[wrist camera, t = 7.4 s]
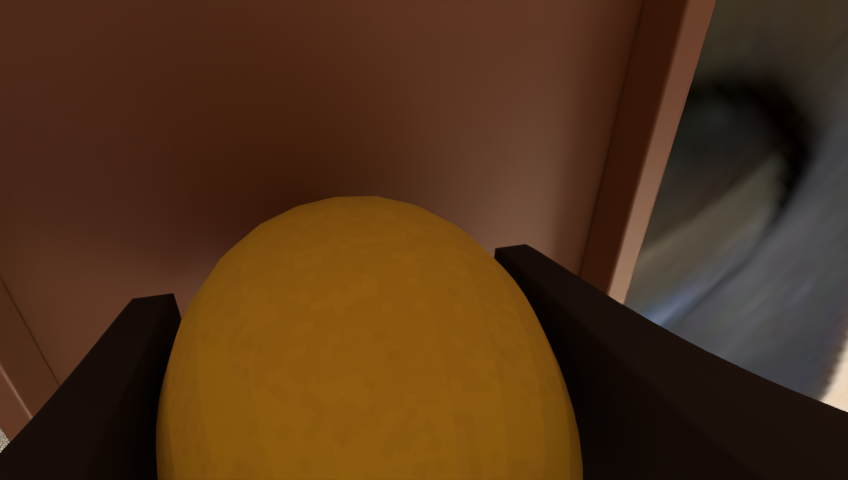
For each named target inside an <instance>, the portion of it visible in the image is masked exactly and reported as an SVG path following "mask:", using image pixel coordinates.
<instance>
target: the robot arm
mask: <svg viewBox="0 0 848 480" xmlns="http://www.w3.org/2000/svg"><path fill="white" fill-rule="evenodd" d="M494 259H495V260H496V261H497V262H498V263H499V264H500V265H501V266H502V267H503V268H504V269H505V270H506V271H507V272H508V273H509V275H510V276H511V277H512V278H513V279H514V281H515V282H516V283H517V285H518V286H519V288H520V289H521V290H522V292H523V293H524V295H525V296H526V298H527V300H528V302H529V303H530V305H531V307H532V309H533V310H534V312H535V314H536V316H537V318H538V321H539V323H540V325H541V327H542V329H543V331H544V333H545V335H546V337H547V340H548V342H549V344H550V346H551V348H552V350H553V353H554V355H555V357H556V359H557V361H558V364H559V367H560V370H561V372H562V375H563V378H564V380H565V383H566V386H567V390H568V393H569V396H570V400H571V403H572V406H573V410H574V415H575V419H576V424H577V428H578V433H579V438H580V447H581V456H582V465H583V480H848V412H846V411H843V410H840V409H838V408H835V407H833V406H830V405H828V404H825V403H823V402H820V401H818V400H815V399H813V398H810V397H808V396H805V395H803V394H800V393H798V392H796V391H793V390H791V389H788V388H786V387H783V386H781V385H779V384H776V383H774V382H772V381H769V380H767V379H765V378H763V377H760V376H758V375H756V374H754V373H751V372H749V371H747V370H745V369H743V368H741V367H739V366H737V365H735V364H732V363H730V362H728V361H726V360H724V359H722V358H720V357H718V356H716V355H714V354H711V353H709V352H707V351H705V350H703V349H701V348H700V347H698V346H696V345H694V344H692V343H690V342H688V341H686V340H684V339H682V338H680V337H679V336H677V335H675V334H673V333H671V332H670V331H668V330H666V329H664V328H662V327H661V326H659V325H657V324H655V323H653V322H652V321H650V320H648V319H646V318H645V317H643V316H641V315H640V314H638V313H636V312H634V311H633V310H631V309H629V308H628V307H626V306H624V305H623V304H621V303H620V302H618V301H616V300H615V299H613V298H611V297H610V296H608V295H607V294H605V293H603V292H602V291H600V290H599V289H597V288H595V287H594V286H592V285H591V284H589V283H588V282H586V281H584V280H583V279H581V278H580V277H578V276H577V275H575V274H574V273H572V272H570V271H569V270H567V269H566V268H564V267H563V266H561V265H560V264H558V263H556V262H555V261H553V260H552V259H550V258H549V257H547V256H545V255H544V254H542V253H541V252H539V251H537V250H536V249H534V248H532V247H530V246H529V245H527V244H522V245H514V246H507V247H500V248H495V254H494ZM181 320H182V318H181V315H180V312H179V309H178V306H177V303H176V299H175V296H174V293H170V294H162V295H155V296H148V297H141V298H134V299H132V300H131V301H130V302H129V303H128V304H127V306H126V307H125V308H124V309H123V310H122V312H121V313H120V314H119V315H118V316H117V317H116V319H115V320H114V321H113V322H112V324H111V325H110V326H109V327H108V329H107V330H106V331H105V332H104V334H103V335H102V336H101V337H100V338H99V340H98V341H97V342H96V343H95V345H94V346H93V347H92V348H91V350H90V351H89V352H88V353H87V354H86V356H85V357H84V358H83V359H82V361H81V362H80V363H79V364H78V365H77V367H76V368H75V369H74V370H73V371H72V373H71V374H70V375H69V376H68V377H67V378H66V380H65V381H64V382H63V383H62V384H61V385H60V387H59V388H58V389H57V390H56V391H55V393H54V394H53V395H52V396H51V397H50V398H49V400H48V401H47V402H46V403H45V404H44V405H43V407H42V408H41V409H40V410H39V411H38V412H37V413H36V415H35V416H34V417H33V418H32V419H31V420H30V421H29V422H28V423H27V425H26V426H25V427H24V428H23V429H22V430H21V431H20V432H19V433H18V434H17V435H16V436H15V438H14V439H13V440H12V441H11V442H10V443H9V444H8V445H7V446H6V447H5V448H4V449H3V450H2V452H1V453H0V480H158V477H157V460H156V421H157V413H158V404H159V397H160V393H161V388H162V384H163V379H164V375H165V372H166V368H167V365H168V362H169V358H170V355H171V351H172V348H173V344H174V341H175V338H176V335H177V332H178V329H179V326H180V323H181Z"/></svg>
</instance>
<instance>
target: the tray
mask: <svg viewBox="0 0 848 480" xmlns="http://www.w3.org/2000/svg"><path fill="white" fill-rule="evenodd" d="M715 3H716V0H0V428H1V429H2V431H3V432H4V434H5V435H6V437H7V438H8V440H9V441H10V442H11V441H12V440H13V439H14V438H15V436H16V435H17V434H18V433H19V432H20V431H21V430H22V429H23V428H24V427H25V426H26V425H27V423H28V422H29V421H30V420H31V419H32V418H33V417H34V416H35V415H36V413H37V412H38V411H39V410H40V409H41V408H42V407H43V405H44V404H45V403H46V402H47V401H48V400H49V398H50V397H51V396H52V395H53V394H54V393H55V391H56V390H57V389H58V388H59V387H60V385H61V384H62V383H63V382H64V381H65V380H66V378H67V377H68V376H69V375H70V374H71V373H72V371H73V370H74V369H75V368H76V367H77V365H78V364H79V363H80V362H81V361H82V359H83V358H84V357H85V356H86V354H87V353H88V352H89V351H90V350H91V348H92V347H93V346H94V345H95V343H96V342H97V341H98V340H99V338H100V337H101V336H102V335H103V334H104V332H105V331H106V330H107V329H108V327H109V326H110V325H111V324H112V322H113V321H114V320H115V319H116V317H117V316H118V315H119V314H120V313H121V312H122V310H123V309H124V308H125V307H126V306H127V304H128V303H129V302H130V301H131V300H132V299H134V298H141V297H148V296H155V295H162V294H170V293H174V296H175V299H176V303H177V306H178V309H179V312H180V315H181V318H183V316H184V314H185V312H186V310H187V308H188V306H189V304H190V302H191V301H192V299H193V298H194V296H195V295H196V293H197V292H198V290H199V289H200V288H201V286H202V285H203V283H204V282H205V280H206V279H207V277H208V276H209V274H210V273H211V272H212V270H213V269H214V267H215V266H216V264H217V263H218V261H219V260H220V259H221V257H222V256H224V255H225V254H226V253H227V252H228V251H229V250H230V249H231V248H232V247H233V246H235V245H236V244H237V243H238V242H239V241H241V240H242V239H243V238H244V237H245V236H247V235H248V234H249V233H250V232H251V231H252V230H254V229H255V228H256V227H257V226H258V225H260V224H262V223H264V222H266V221H268V220H270V219H272V218H274V217H276V216H278V215H280V214H282V213H284V212H286V211H288V210H290V209H292V208H294V207H296V206H299V205H304V204H308V203H312V202H316V201H320V200H324V199H328V198H333V197H353V196H379V197H383V198H388V199H392V200H397V201H401V202H406V203H410V204H414V205H416V206H419V207H422V208H424V209H426V210H428V211H429V212H431V213H433V214H435V215H437V216H439V217H441V218H443V219H445V220H447V221H449V222H451V223H453V224H455V225H456V226H458V227H459V228H461V229H462V230H464V231H465V232H466V233H467V234H469V235H470V236H471V237H472V238H473V239H474V240H475V241H476V242H477V243H478V244H479V245H481V246H482V247H483V248H484V249H485V250H486V251H487V252H488V253H489V254H490V255H491V256H492V257H493V258H494V254H495V248H500V247H507V246H514V245H522V244H527V245H529V246H530V247H532V248H534V249H536V250H537V251H539V252H541V253H542V254H544V255H545V256H547V257H549V258H550V259H552V260H553V261H555V262H556V263H558V264H560V265H561V266H563V267H564V268H566V269H567V270H569V271H570V272H572V273H574V274H575V275H577V276H578V277H580V278H581V279H583V280H584V281H586V282H588V283H589V284H591V285H592V286H594V287H595V288H597V289H599V290H600V291H602V292H603V293H605V294H607V295H608V296H610V297H611V298H613V299H615V300H616V301H618V302H620V303H621V304H623V305H624V302H625V299H626V296H627V292H628V289H629V286H630V283H631V279H632V276H633V273H634V269H635V266H636V263H637V260H638V256H639V253H640V250H641V246H642V243H643V240H644V236H645V233H646V230H647V227H648V223H649V220H650V217H651V213H652V210H653V207H654V204H655V200H656V197H657V194H658V190H659V187H660V184H661V180H662V177H663V174H664V171H665V167H666V164H667V161H668V157H669V154H670V151H671V148H672V144H673V141H674V138H675V134H676V131H677V128H678V124H679V121H680V118H681V115H682V111H683V108H684V105H685V101H686V98H687V95H688V92H689V88H690V85H691V82H692V78H693V75H694V72H695V68H696V65H697V62H698V59H699V55H700V52H701V49H702V45H703V42H704V39H705V36H706V32H707V29H708V26H709V22H710V19H711V16H712V12H713V9H714V6H715Z"/></svg>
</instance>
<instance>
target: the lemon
mask: <svg viewBox="0 0 848 480" xmlns="http://www.w3.org/2000/svg"><path fill="white" fill-rule="evenodd" d="M156 460H157V477H158V480H583V465H582V456H581V447H580V438H579V433H578V428H577V424H576V419H575V415H574V410H573V406H572V403H571V400H570V396H569V393H568V390H567V386H566V383H565V380H564V378H563V375H562V372H561V370H560V367H559V364H558V361H557V359H556V357H555V355H554V353H553V350H552V348H551V346H550V344H549V342H548V340H547V337H546V335H545V333H544V331H543V329H542V327H541V325H540V323H539V321H538V318H537V316H536V314H535V312H534V310H533V309H532V307H531V305H530V303H529V302H528V300H527V298H526V296H525V295H524V293H523V292H522V290H521V289H520V288H519V286H518V285H517V283H516V282H515V281H514V279H513V278H512V277H511V276H510V275H509V273H508V272H507V271H506V270H505V269H504V268H503V267H502V266H501V265H500V264H499V263H498V262H497V261H496V260H495V259H494V258H493V257H492V256H491V255H490V254H489V253H488V252H487V251H486V250H485V249H484V248H483V247H482V246H481V245H479V244H478V243H477V242H476V241H475V240H474V239H473V238H472V237H471V236H470V235H469V234H467V233H466V232H465V231H464V230H462V229H461V228H459V227H458V226H456V225H455V224H453V223H451V222H449V221H447V220H445V219H443V218H441V217H439V216H437V215H435V214H433V213H431V212H429V211H428V210H426V209H424V208H422V207H419V206H416V205H414V204H410V203H406V202H401V201H397V200H392V199H388V198H383V197H379V196H353V197H333V198H328V199H324V200H320V201H316V202H312V203H308V204H304V205H299V206H296V207H294V208H292V209H290V210H288V211H286V212H284V213H282V214H280V215H278V216H276V217H274V218H272V219H270V220H268V221H266V222H264V223H262V224H260V225H258V226H257V227H256V228H255V229H254V230H252V231H251V232H250V233H249V234H248V235H247V236H245V237H244V238H243V239H242V240H241V241H239V242H238V243H237V244H236V245H235V246H233V247H232V248H231V249H230V250H229V251H228V252H227V253H226V254H225V255H224V256H222V257H221V259H220V260H219V261H218V263H217V264H216V266H215V267H214V269H213V270H212V272H211V273H210V274H209V276H208V277H207V279H206V280H205V282H204V283H203V285H202V286H201V288H200V289H199V290H198V292H197V293H196V295H195V296H194V298H193V299H192V301H191V302H190V304H189V306H188V308H187V310H186V312H185V314H184V316H183V318H182V320H181V323H180V326H179V329H178V332H177V335H176V338H175V341H174V344H173V348H172V351H171V355H170V358H169V362H168V365H167V368H166V372H165V375H164V379H163V384H162V388H161V393H160V397H159V404H158V413H157V421H156Z"/></svg>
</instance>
